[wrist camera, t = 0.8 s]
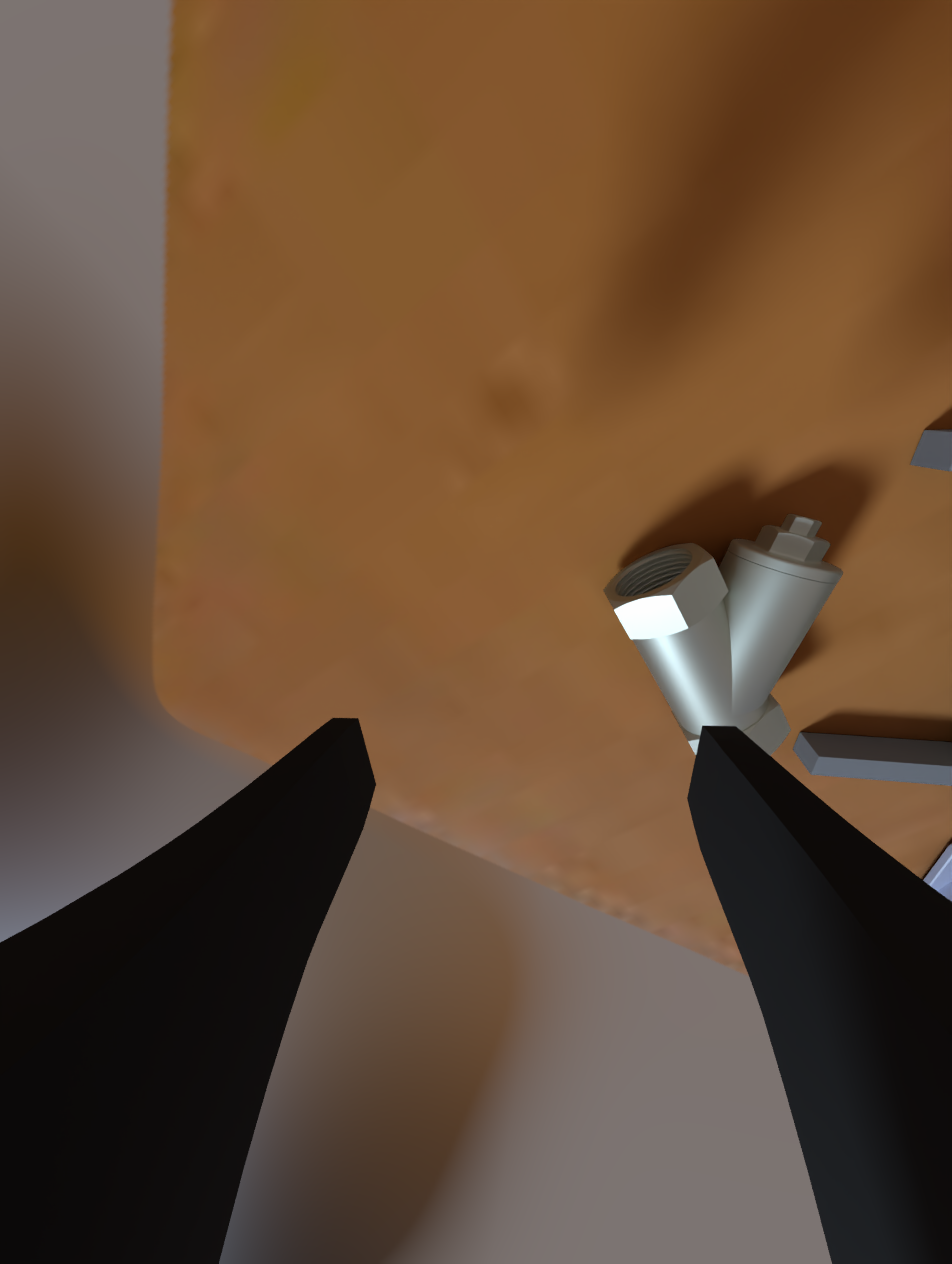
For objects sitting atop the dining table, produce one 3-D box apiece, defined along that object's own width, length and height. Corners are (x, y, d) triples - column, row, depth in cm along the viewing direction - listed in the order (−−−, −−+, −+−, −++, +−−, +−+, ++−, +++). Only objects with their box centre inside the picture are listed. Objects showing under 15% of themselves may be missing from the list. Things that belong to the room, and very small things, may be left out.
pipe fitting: (772, 482, 15) (597, 578, 17) (851, 498, 12) (618, 617, 14) (837, 654, 18) (677, 721, 20) (917, 710, 14) (712, 785, 16)
